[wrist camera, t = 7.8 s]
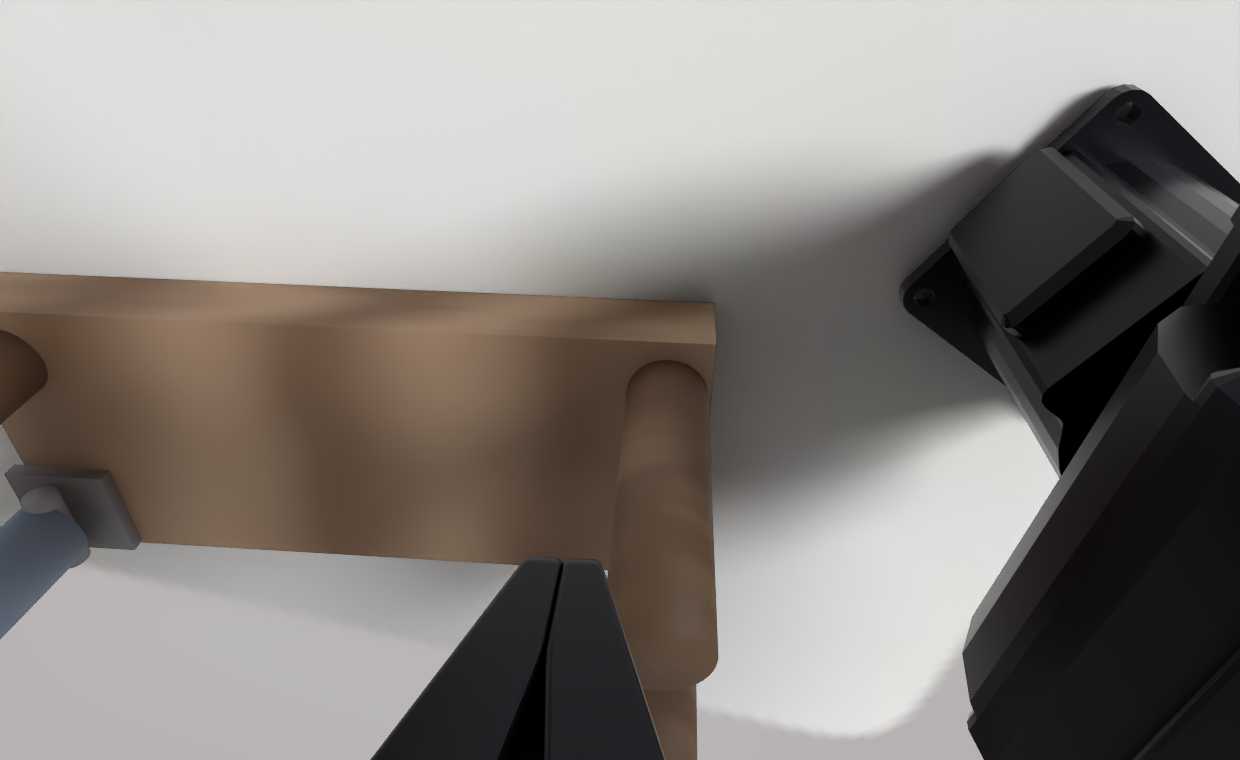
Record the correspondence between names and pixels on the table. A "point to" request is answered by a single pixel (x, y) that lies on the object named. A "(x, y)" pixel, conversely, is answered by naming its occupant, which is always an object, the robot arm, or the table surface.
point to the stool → (385, 434)
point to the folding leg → (36, 552)
